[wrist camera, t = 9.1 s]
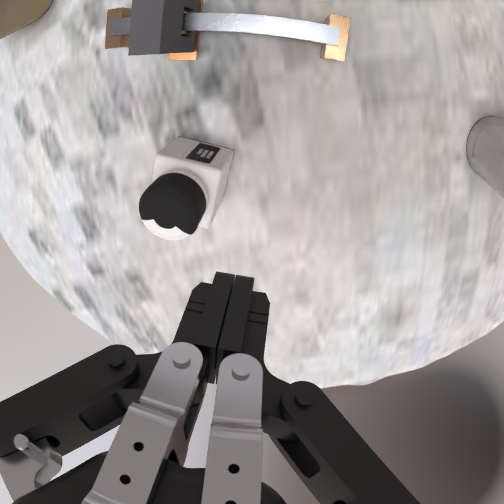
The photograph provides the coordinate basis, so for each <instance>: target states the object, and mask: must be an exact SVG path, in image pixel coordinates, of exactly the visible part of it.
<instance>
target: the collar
mask: <svg viewBox="0 0 504 504" xmlns="http://www.w3.org/2000/svg"><path fill="white" fill-rule="evenodd" d="M199 3H200V0H133V1H132V11H131V23H130V37H129V55H145V54H166V53H191V52H195V42H196V32H197V31H187V34H182V25H183V15H184V11H185V12H188V13H198V12H199ZM129 55H128V56H129Z"/></svg>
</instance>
